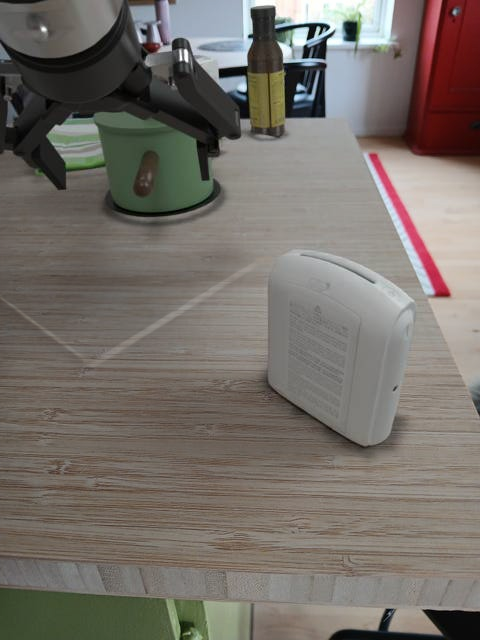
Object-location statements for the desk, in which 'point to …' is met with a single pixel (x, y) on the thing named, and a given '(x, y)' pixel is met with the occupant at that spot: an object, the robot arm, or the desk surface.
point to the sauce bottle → (265, 75)
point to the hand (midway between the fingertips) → (133, 172)
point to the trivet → (208, 200)
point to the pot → (150, 164)
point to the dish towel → (77, 145)
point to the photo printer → (338, 342)
